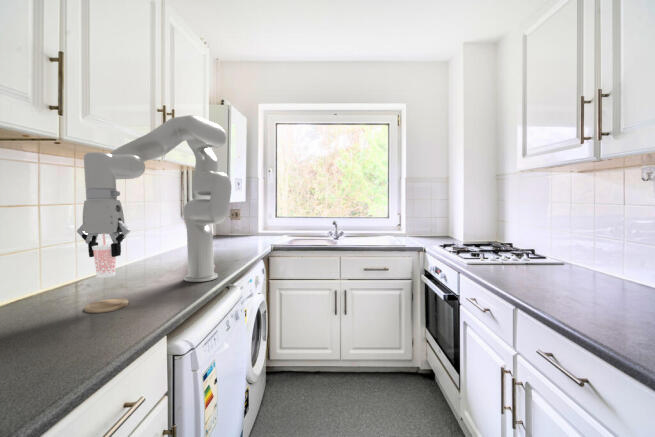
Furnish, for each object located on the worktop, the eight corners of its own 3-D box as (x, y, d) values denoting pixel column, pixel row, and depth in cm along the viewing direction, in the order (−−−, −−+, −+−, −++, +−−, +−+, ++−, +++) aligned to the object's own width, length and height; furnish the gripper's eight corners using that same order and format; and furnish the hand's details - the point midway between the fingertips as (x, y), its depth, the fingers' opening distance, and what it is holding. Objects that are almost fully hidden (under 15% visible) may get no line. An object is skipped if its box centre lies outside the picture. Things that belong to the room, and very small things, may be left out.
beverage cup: (123, 273, 104) (120, 227, 103) (106, 278, 98) (103, 230, 97) (106, 273, 105) (103, 227, 104) (88, 277, 99) (85, 229, 98)
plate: (102, 301, 108) (102, 298, 107) (136, 301, 107) (136, 298, 107) (75, 312, 97) (74, 309, 97) (112, 313, 96) (112, 309, 96)
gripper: (138, 195, 103) (141, 253, 104) (82, 195, 104) (86, 254, 105) (122, 195, 96) (125, 258, 97) (62, 195, 96) (66, 258, 98)
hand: (105, 255), depth 101 cm, fingers closed on beverage cup, 6 cm apart
